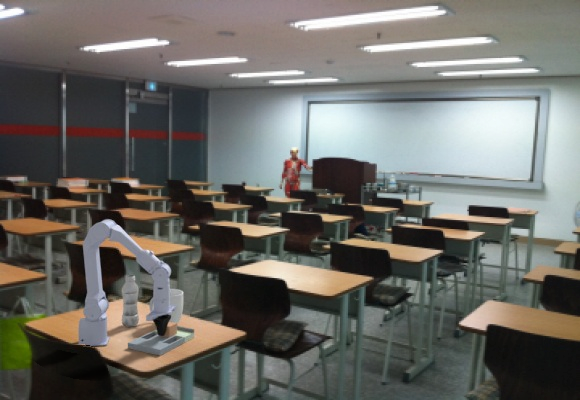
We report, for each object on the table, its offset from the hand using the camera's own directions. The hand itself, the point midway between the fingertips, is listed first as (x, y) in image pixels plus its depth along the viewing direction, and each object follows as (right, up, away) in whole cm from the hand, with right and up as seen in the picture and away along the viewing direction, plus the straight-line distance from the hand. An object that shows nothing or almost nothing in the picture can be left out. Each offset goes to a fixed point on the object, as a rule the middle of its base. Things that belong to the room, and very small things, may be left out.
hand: (161, 335), depth 193 cm
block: (+2, -1, +3) cm, 4 cm away
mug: (-3, -1, +21) cm, 22 cm away
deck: (0, -3, +1) cm, 3 cm away
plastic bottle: (-16, -1, +18) cm, 24 cm away
